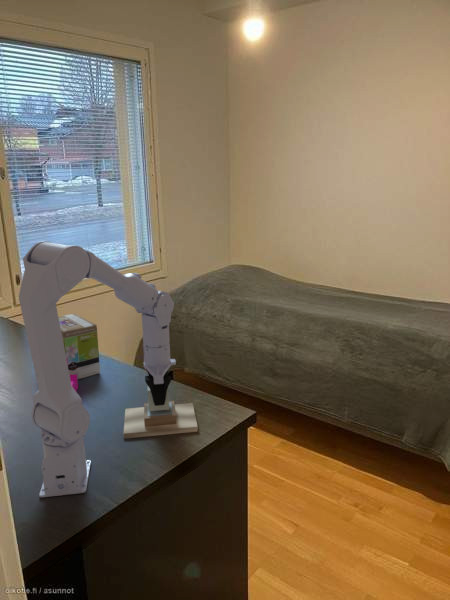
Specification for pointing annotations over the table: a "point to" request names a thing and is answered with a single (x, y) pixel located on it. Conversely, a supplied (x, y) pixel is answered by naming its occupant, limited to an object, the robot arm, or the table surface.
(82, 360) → the tea box
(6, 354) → the table surface
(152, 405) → the sage block
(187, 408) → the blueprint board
